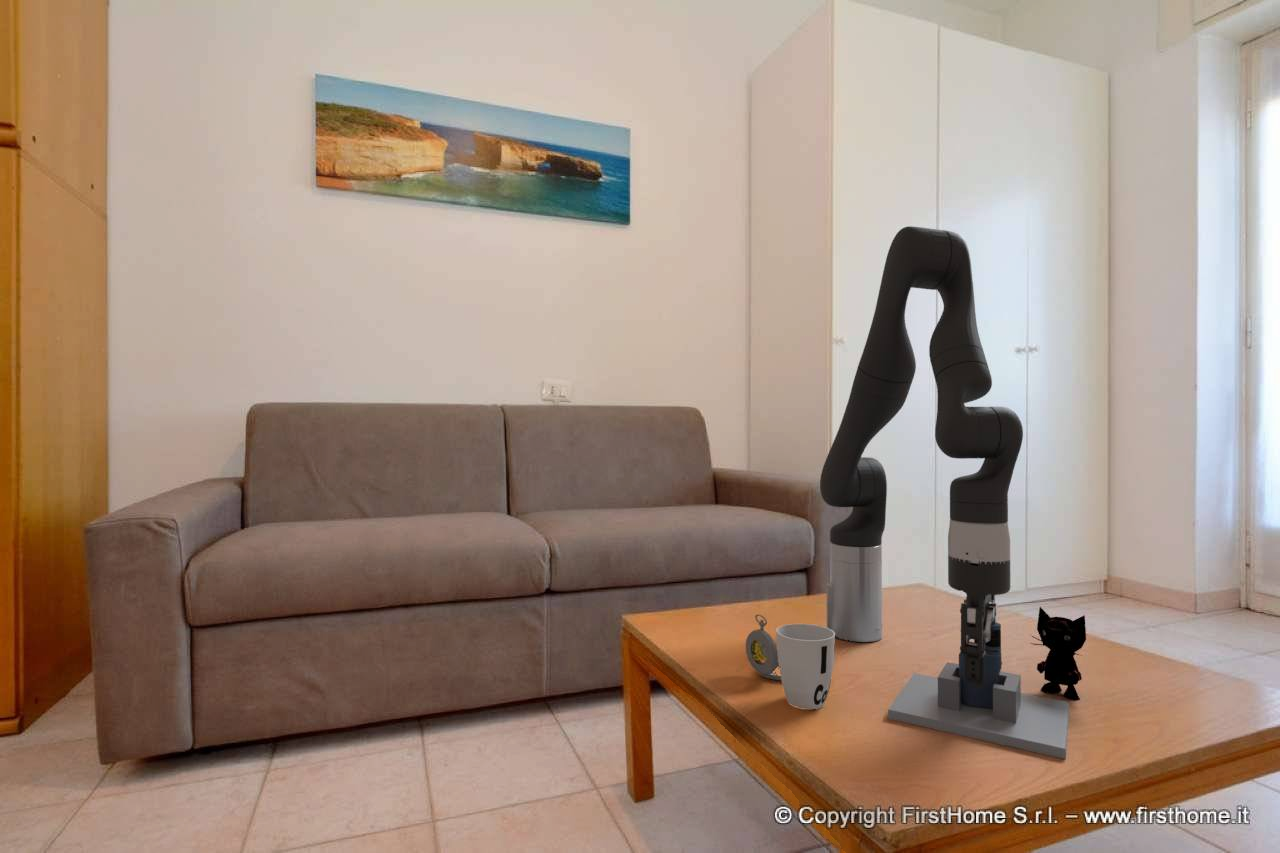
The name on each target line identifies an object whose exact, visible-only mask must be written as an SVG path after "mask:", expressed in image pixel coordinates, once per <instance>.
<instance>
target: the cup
mask: <svg viewBox="0 0 1280 853" xmlns="http://www.w3.org/2000/svg"><path fill="white" fill-rule="evenodd" d="M775 635H776V647H777V652H778V662H779V668H780V674H781V680H780V681H781V685H782V687H783V692H784V694H785V697H786V700H787V703H788V702H789V703H790V704H792V705H793V706H797V707H799V708H805V709H816V710H818V709H817V708H820V709H822V708H823V707H825V704H826V700H827V697H828V696H829V692H830V688H831V683H832V675H833V668H834V662H835V646H836V644H835V642H836V641H835V640H836V637H835V632H834V631H832V630H831V629H829V628H827V626H826V627H825V626H821V625H817V624H810V623H789V624H783V625H780V626H778V627H776V629H775ZM789 703H788V704H789ZM790 704H789V705H790ZM793 706H792V707H793ZM821 707H822V708H821ZM799 708H798V709H799Z"/></svg>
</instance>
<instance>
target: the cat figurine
mask: <svg viewBox="0 0 1280 853" xmlns="http://www.w3.org/2000/svg"><path fill="white" fill-rule="evenodd" d="M1037 618H1038V619H1037V624H1036V626H1037V627H1036V630H1037V632H1038V635H1039V637H1040V638H1037V637H1035V636H1034V635H1031V634H1029V635H1030V636H1031V637H1032V638H1033V639H1036V640H1037V641H1040V642H1042V643H1034V642H1033V643H1032V642H1029V644H1031V645H1035V646H1044V647H1046V648H1047V649H1049V652H1048V654H1047V656H1046V658H1045V660H1042V661H1040V662H1038V663H1037V665H1036V670H1037V671H1038V673H1040V674H1041V675H1042V674H1043V673H1044V675H1043V676H1044V677H1043V678H1044V680H1045V681H1048V682H1046V683H1044V684H1043V685H1042V687H1040V692H1042V693H1044V694H1050V695H1051V694H1053V695H1054V694H1055V695H1056V694H1058V693H1061V692H1062V688H1061V685H1062V686H1065V687H1066V686H1067V687H1066V689H1065V690H1064V693H1063V695H1062V697H1064V699H1067V700H1070V701H1080V700H1081V698H1080V696H1079V695H1078V692H1077V690H1076V688H1075V685H1078V683H1079V681H1082V680H1083V678H1082V673H1081V671H1079V668H1078V665H1077V661H1076V660H1075V657H1074V656H1075V655H1077V656H1082V657H1083V655H1082V654H1079V653H1076V652H1078V651H1079V650H1081V649H1082V648H1083V647H1084V645H1085V643H1086V641H1087V629H1086V628H1087V627H1086V615H1081V616H1080V617H1078V618H1076V619H1074V620H1072V619H1071V618H1066V617H1062V616H1053V617H1051V616H1050V615H1049V614H1048V613H1047V612H1046V611H1045V610H1044V609H1043V608H1042V607H1041V606H1039V610H1038V617H1037Z"/></svg>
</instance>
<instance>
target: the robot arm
mask: <svg viewBox="0 0 1280 853" xmlns="http://www.w3.org/2000/svg"><path fill="white" fill-rule="evenodd" d="M971 262H972V261H971V255H970V251H969V246H968V244H967V241H966V240H965V238H964V236H962V235H961V234H960V233H958V232H956V231H950V230H945V229H943V230H942V229H937V228H927V227H923V226H921V227H920V226H913V225H912V226H910V225H909V226H904V227H902V228H900V229H899V231H898V232H897V233H896V234H895V236H894V237H893V239H892V242H891V243H890V246H889V249H888V252H887V255H886V259H885V263H884V268H883V271H882V272H883V273H882V276H881V282H880V286H879V291H878V296H877V299H876V304H875V305H876V306H875V308H874V313H873V317H872V320H871V324H870V329H869V331H868V333H867V337H866V341H865V343H864V344H865V345H864V347H863V350H862V353H861V356H860V359H859V363H858V366H857V368H856V372H855V376H854V379H853V383H852V386H851V390H850V394H849V398H848V401H847V404H846V407H845V410H844V413H843V416H842V419H841V423H840V424H839V427H838V429H837V430H838V431H837V433H836V435H835V438H834V440H833V442H832V444H831V447H830V449H829V451H828V453H827V456H826V459H825V460H824V464H823V466H822V470H821V474H820V481H819V488H820V489H819V491H820V495H821V498H822V499H823V501H824V503H826V504H827V505H828V506H830V507H834V508H852V510H851V513H850V514H849V515H848V516H847V517H846V518H845V519H844V520H842V521H840V522H838V523H836V524H834V525H833V526H832V527H831V528H830V531H829V565H830V566H829V568H830V570H829V572H830V575H829V578H830V579H829V580H830V581H829V582H827V583H826V628H829V629H831V630H832V631H834V632H835V636H836V637H835V638H837V637H838V638H837V639H840V640H843V639H844V640H843V641H848V640H849V642H857V643H859V642H860V643H869V642H877V641H880V640H882V638H883V570H882V569H883V568H882V567H883V566H882V565H883V563H882V562H883V560H882V558H883V557H882V556H883V555H882V553H883V552H882V551H883V550H882V549H883V548H882V547H883V546H882V544H883V543H882V538H883V535H884V531H885V527H886V512H887V511H886V510H887V497H888V496H887V494H888V492H887V491H888V482H887V475H886V471H885V468H884V466H883V465H882V463H881V462H880V461H879V460H878V459H877V458H873V457H862V455H863V454H864V452H865V449H866V448H867V446H868V445H869V443H870V442H871V441H872V440H873V439H874V437H876V436H877V434H878V433H879V432H880V431H882V430H883V429H884V428H885V427H886V426H887V425H888V423H890V422H891V421H892V420H893V419H894V418H895V416H896V415H897V414H898V413H899V411H900V410H902V408H903V406H904V404H905V403H906V400H907V397H908V395H909V392H910V390H911V386H912V383H913V380H914V377H915V374H916V369H917V367H916V366H917V364H916V363H917V362H916V358H915V357H916V356H915V353H914V352H915V351H914V349H913V347H912V342H911V340H910V336H909V333H908V330H907V324H906V319H905V318H906V306H907V302H908V296H909V294H910V291H911V289H912V288H915V289H922V290H923V289H924V290H932V291H933V290H935V291H937V292H938V293H939V296H940V297H941V300H942V303H943V311H942V312H941V316H940V318H939V320H938V321H937V323H936V325H935V328H934V330H933V331H932V334H931V337H930V341H929V346H928V348H929V349H928V353H929V360H930V365H931V368H932V373H933V377H934V380H935V383H936V389H937V407H936V408H937V410H936V412H937V413H936V420H935V427H934V428H935V431H934V432H935V433H934V436H935V442H936V445H937V447H938V448H939V449H940V451H941V452H942V453H943V454H944V455H946V456H947V457H948V458H952V459H962V460H963V459H964V460H965V459H984V460H983V463H982V464H981V467H980V468H979V470H977V471H976V472H974V473H972V474H968V475H962V476H959V477H956V478H954V479H953V480H952V481H951V482H950V486H949V526H948V533H947V534H948V535H947V575H948V576H947V581H948V585H949V587H951V588H952V589H954V590H956V591H958V592H963V593H965V595H966V598H964V599H963V602H962V603H961V604H960V609H959V612H960V647H959V651H960V652H961V653H963V654H965V681H966V683H968V684H971V685H976V686H983V684H984V682H985V677H984V657H985V655H986V651H985V647H986V642H988V641H990V638H991V625H992V622H993V621H994V617H995V622H996V623H997V613H998V612H997V610H998V605H997V603H996V596H997V595H998V596H999V595H1004V594H1007V593H1009V592H1010V590H1011V537H1010V536H1011V535H1010V529H1009V498H1008V497H1009V496H1008V495H1009V494H1008V493H1009V488H1010V486H1011V481H1012V478H1013V473H1014V471H1015V470H1014V469H1015V466H1016V464H1017V461H1018V457H1019V455H1020V454H1019V453H1020V452H1021V448H1022V443H1023V438H1024V430H1023V425H1022V424H1023V423H1022V422H1021V420H1020V418H1019V415H1018V414H1017V413H1016V411H1014V410H1013V409H1011V408H1009V407H1006V406H966V405H965V404H968V403H971V402H974V401H977V400H979V399H981V398H984V397H985V396H986V395H988V393H989V392H990V390H992V386H993V378H992V375H991V371H990V369H989V365H988V362H987V358H986V355H985V353H984V352H985V350H984V348H983V346H982V342H981V338H980V334H979V329H978V325H977V315H976V304H975V303H976V302H975V293H974V289H975V288H974V281H973V272H972V263H971ZM970 640H974V641H973V642H975V643H977V644H978V646H974V645H969V642H970Z"/></svg>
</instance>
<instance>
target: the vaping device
mask: <svg viewBox="0 0 1280 853" xmlns="http://www.w3.org/2000/svg"><path fill="white" fill-rule="evenodd" d="M1001 626H1002V624H1001V623H999V622H997V621H996V622H995V617H994V621H993V622H992V625H991V638H990V641H988V642H986V647H985V651H986V655H985V657H984V677H985V682H984V684H983V686H976V685H971V684H968V683H966V681H965V654H963V653H961V651H959V653H958V664H959V677H960V678H961V703H962V704H964V705H966V706H969V707H979V708H988V709H993V686H994V684H998V685H999V673H1000V671H1002V665H1003V662H1002V631H1001V628H1002V627H1001ZM969 645H974V646H978V644H977V643H975V642H974V641H969Z"/></svg>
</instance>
